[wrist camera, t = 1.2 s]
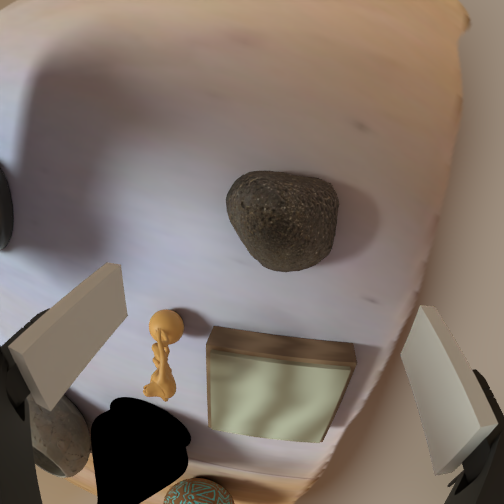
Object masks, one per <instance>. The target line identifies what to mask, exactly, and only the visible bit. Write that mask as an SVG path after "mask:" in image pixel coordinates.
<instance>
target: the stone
mask: <svg viewBox="0 0 504 504" xmlns="http://www.w3.org/2000/svg"><path fill="white" fill-rule="evenodd" d="M226 205H227V212H228V216H229V219H230V222H231V224H232V225H233V227H234V229H235V231H236V232H237V234H238V236H239V237H240V239H241V241H242V242H243V244H244V245H245V247H246V248H247V250H248V251H249V253H250V254H251V255H252V256H253V257H254V258H255V259H256V260H258V261H259V262H260V263H261V264H262V266H264V267H266V268H268V269H271V270H274V271H281V272H290V271H300V270H303V269H306V268H309V267H312V266H314V265H316V264H317V263H319V262H320V261H321V260H322V259H324V258H325V257H326V256H327V255H328V254H329V253H330V251H331V249H332V245H333V240H334V236H335V230H336V224H337V213H338V206H339V201H338V198H337V194H336V192H335V190H334V188H333V187H332V185H331V184H330V183H328V182H325V181H323V180H321V179H318V178H311V177H303V176H297V175H290V174H287V173H283V172H273V171H253V172H249V173H247V174H245V175H242V176H241V177H240V178H238V179H237V180H236V181H235V182H234V184H233V185H232V187H231V188H230V190H229V192H228V194H227V197H226Z"/></svg>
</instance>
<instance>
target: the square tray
mask: <svg viewBox="0 0 504 504" xmlns="http://www.w3.org/2000/svg"><path fill="white" fill-rule="evenodd" d="M356 364H357V360H356V355H355V350H354V345H353V343H345V342H334V341H324V340H314V339H305V338H296V337H288V336H280V335H272V334H265V333H257V332H251V331H244V330H237V329H231V328H225V327H219V326H213V329H212V331H211V334H210V336H209V338H208V341H207V343H206V370H207V405H208V427H209V428H212V429H213V430H218V431H223V432H228V433H234V434H240V435H246V436H253V437H260V438H268V439H276V440H286V441H296V442H310V443H320V442H323V440H324V438H325V436H326V434H327V432H328V430H329V427H330V425H331V423H332V421H333V419H334V417H335V415H336V412H337V410H338V408H339V406H340V403H341V401H342V399H343V396H344V394H345V392H346V389H347V387H348V384H349V382H350V379H351V377H352V374H353V372H354V369H355V367H356Z"/></svg>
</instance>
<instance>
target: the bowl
mask: <svg viewBox="0 0 504 504" xmlns="http://www.w3.org/2000/svg"><path fill="white" fill-rule="evenodd" d="M27 400H28V402H29V412H30V427H31V438H32V447H33V455H34V462H35V464H36V465H37V466H38V467H40V468H41V469H43V470H44V471H46V472H48V473H51V474H53V475H55V476H57V477H64V478H65V477H72V476H74V475H76V474H77V473H78V472H80V471H81V470H82V469H83V467H84V466H85V465H86V463H87V461H88V458H89V454H90V453H92V446H91V439H90V434H89V430H88V427H87V424H86V422H85V420H84V418H83V416H82V414H81V413H80V412H79V410H78V409H77V408H76V406H75V405H74V404H73V403H72V402H71V401H70V400H69V399H68V398H67V397H66V396H65V395H63V396H62V397H61V399H60V400H59V401H58V403H57V404H56V405H55V407H54V408H53V409H52V411H49V410H47V409H45V408H43V407H42V406H40V405H38V404H36V402H35V400H34V398H33V396H32V395H31V393H30V394H29V395H28V396H27Z"/></svg>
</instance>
